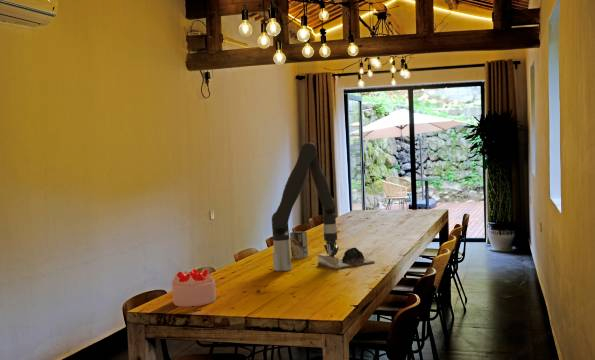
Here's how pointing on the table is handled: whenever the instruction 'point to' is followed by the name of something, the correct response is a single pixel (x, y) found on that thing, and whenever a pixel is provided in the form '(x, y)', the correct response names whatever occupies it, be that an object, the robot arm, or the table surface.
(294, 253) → the coffee box
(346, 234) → the table surface
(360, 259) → the black rock
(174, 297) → the cake
